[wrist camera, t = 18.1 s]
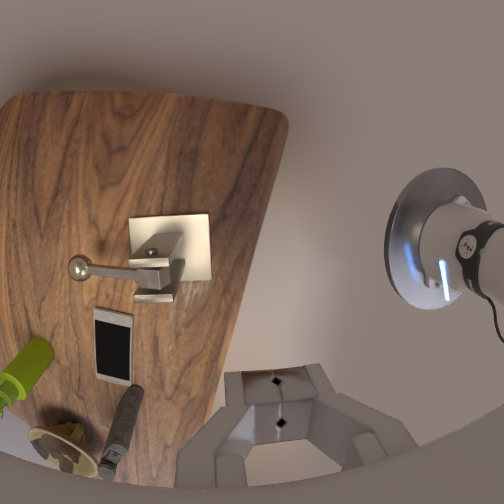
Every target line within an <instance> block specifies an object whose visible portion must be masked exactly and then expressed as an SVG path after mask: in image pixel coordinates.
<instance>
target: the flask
mask: <svg viewBox="0 0 504 504" xmlns="http://www.w3.org/2000/svg"><path fill="white" fill-rule="evenodd" d="M143 393H144V391H143V389H142V388H141V387H140V386H138V385H131V386H130V387H129V388H128V390H127V391H126V392H125V394H124V395H123V397H122V399H121V401H120V403H119V406H118V409H117V412H116V414H115V417H114V420H113V423H112V426H111V429H110V432H109V435H108V438H107V441H106V444H105V447H104V450H103V454H102V457H101V460H100V463H99V465H98V467H97V471H98V473H99V476H100V477H101V478H102V479H104V480H107V481H113V480H114V476H115V475H116V468H117V464H118V463H119V461H120V460H121V459H122V458H123V457H124V456H125V455H126V454H127V453H128V449H129V445H130V441H131V437H132V433H133V429H134V426H135V422H136V418H137V414H138V411H139V407H140V403H141V400H142V396H143Z"/></svg>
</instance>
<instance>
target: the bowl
mask: <svg viewBox="0 0 504 504" xmlns="http://www.w3.org/2000/svg"><path fill="white" fill-rule="evenodd" d="M83 431H84V427H83V425H82V424H80V423H76V424H74V423H71V422H67V421H63V422H61V423H60V425H54V426H48V427H42V426H35V427H33V428H31V429H30V430H29V432H28V437H29V439H30V442H31V443H32V445H33V447H34V448H35V450H36V451H37V452H38V453H39V454H40V455H41V456H42V457H43V458H44V459H45V460H46V461H47V462H48V463H50V464H51V465H52V466H54V467H55V468H57V469H59V470H60V471H63V472H67V473H71V474H76V475H80V476H85V477H89V478H92V477H95V476H97V475H98V471H97V467H98V465H99V464H98V462H97V460H96V459H95V458H94V457H93V456H92V454H91V451H90V449H89V447H88V445H87V442H86V434H85V433H84V432H83Z"/></svg>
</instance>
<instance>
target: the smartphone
mask: <svg viewBox="0 0 504 504" xmlns="http://www.w3.org/2000/svg"><path fill="white" fill-rule="evenodd" d="M93 322H94V352H95V368H96V377H97V379H100V380H103V381H107V382H111V383H115V384H119V385H123V386H128V387H130V386H131V384H132V341H133V315H130V314H125V313H121V312H116V311H112V310H108V309H103V308H99V307H96V308H95V309H94V311H93Z"/></svg>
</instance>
